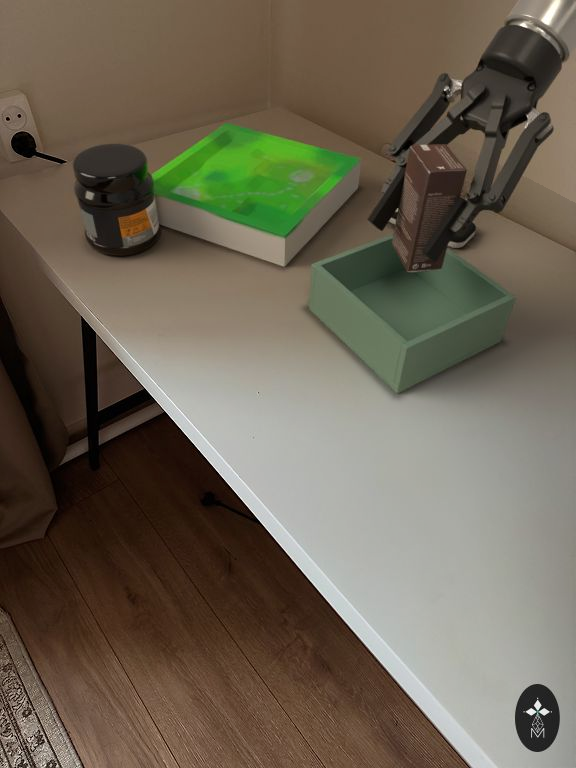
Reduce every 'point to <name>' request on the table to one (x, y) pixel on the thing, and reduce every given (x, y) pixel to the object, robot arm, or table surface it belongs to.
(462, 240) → the remote control
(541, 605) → the table surface
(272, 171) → the green flat square slab
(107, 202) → the supplement container
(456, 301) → the bin
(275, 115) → the table surface
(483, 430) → the table surface
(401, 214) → the box
